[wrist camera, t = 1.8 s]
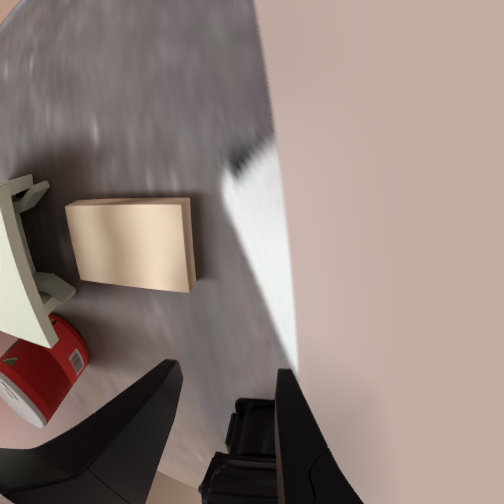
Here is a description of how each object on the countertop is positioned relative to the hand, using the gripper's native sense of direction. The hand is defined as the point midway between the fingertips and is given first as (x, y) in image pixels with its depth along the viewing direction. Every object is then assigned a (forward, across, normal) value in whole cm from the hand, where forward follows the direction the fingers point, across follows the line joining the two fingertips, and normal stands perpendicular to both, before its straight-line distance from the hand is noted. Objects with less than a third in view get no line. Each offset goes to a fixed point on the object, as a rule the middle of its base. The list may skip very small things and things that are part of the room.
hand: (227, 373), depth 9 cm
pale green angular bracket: (+12, +21, 0) cm, 25 cm away
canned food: (+12, +24, +12) cm, 29 cm away
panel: (+12, +10, 0) cm, 16 cm away
